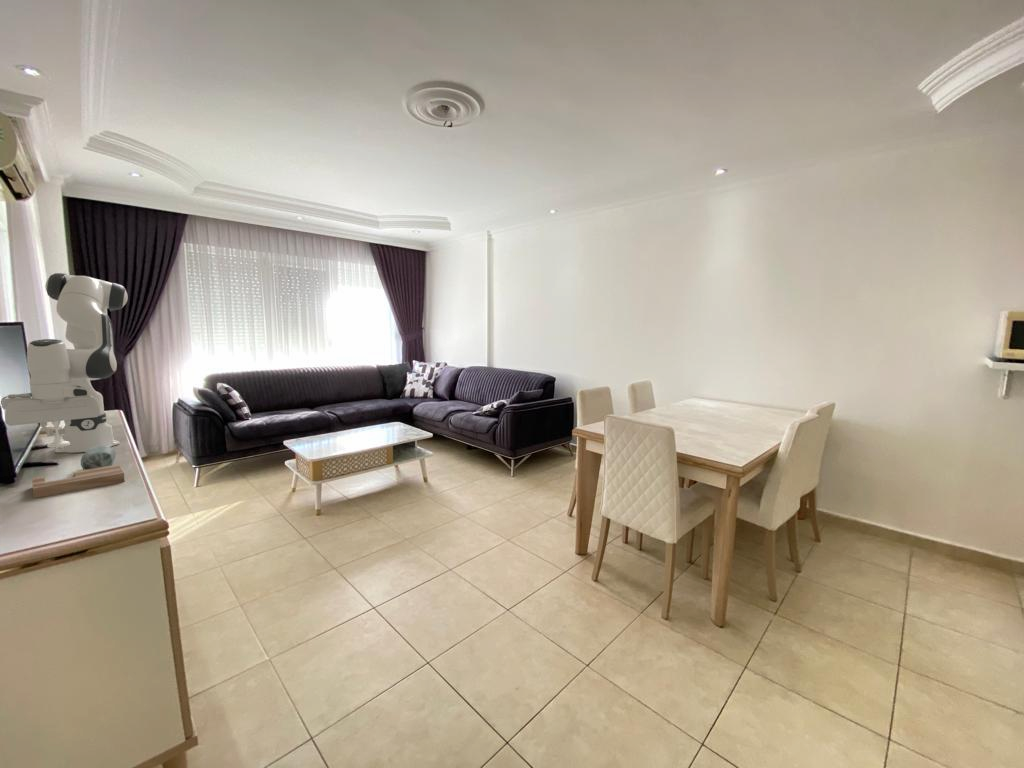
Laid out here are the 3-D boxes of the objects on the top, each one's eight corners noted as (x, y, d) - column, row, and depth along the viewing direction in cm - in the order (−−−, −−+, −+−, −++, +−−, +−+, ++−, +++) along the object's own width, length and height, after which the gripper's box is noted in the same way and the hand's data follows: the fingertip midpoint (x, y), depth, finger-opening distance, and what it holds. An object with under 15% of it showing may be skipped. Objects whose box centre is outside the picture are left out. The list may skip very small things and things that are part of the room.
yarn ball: (119, 463, 148) (100, 439, 146) (86, 480, 142) (66, 455, 140) (127, 461, 159) (110, 440, 157) (97, 477, 154) (78, 455, 152)
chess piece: (72, 444, 134) (69, 414, 133) (50, 448, 130) (46, 416, 128) (66, 442, 136) (62, 412, 135) (44, 446, 132) (40, 414, 131)
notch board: (33, 487, 132) (32, 478, 132) (119, 472, 147) (118, 464, 147) (33, 498, 124) (32, 488, 124) (124, 481, 140) (123, 472, 139)
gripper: (-1, 396, 121) (5, 443, 123) (98, 389, 136) (102, 431, 138) (0, 393, 125) (6, 439, 127) (96, 387, 140) (100, 428, 142)
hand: (57, 434), depth 132 cm, fingers closed on chess piece
